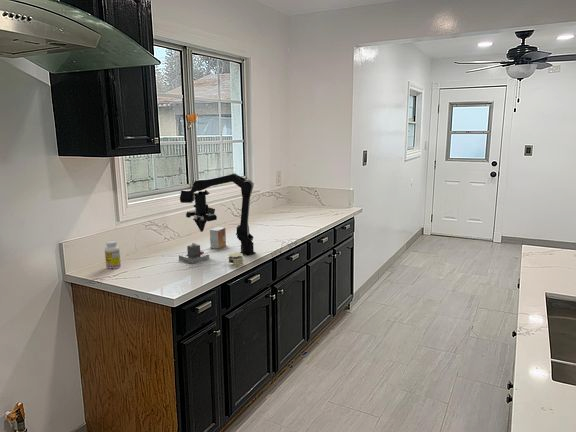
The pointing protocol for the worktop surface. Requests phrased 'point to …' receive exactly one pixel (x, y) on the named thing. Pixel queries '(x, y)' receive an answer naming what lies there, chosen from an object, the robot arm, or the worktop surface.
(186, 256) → the socket plate
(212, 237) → the small box
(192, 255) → the plug
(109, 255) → the supplement bottle
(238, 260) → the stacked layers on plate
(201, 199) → the robot arm
